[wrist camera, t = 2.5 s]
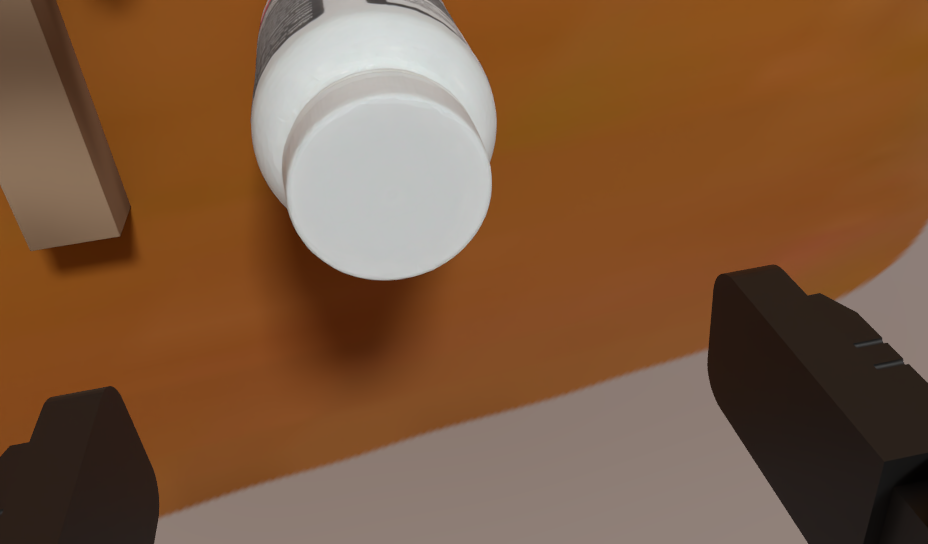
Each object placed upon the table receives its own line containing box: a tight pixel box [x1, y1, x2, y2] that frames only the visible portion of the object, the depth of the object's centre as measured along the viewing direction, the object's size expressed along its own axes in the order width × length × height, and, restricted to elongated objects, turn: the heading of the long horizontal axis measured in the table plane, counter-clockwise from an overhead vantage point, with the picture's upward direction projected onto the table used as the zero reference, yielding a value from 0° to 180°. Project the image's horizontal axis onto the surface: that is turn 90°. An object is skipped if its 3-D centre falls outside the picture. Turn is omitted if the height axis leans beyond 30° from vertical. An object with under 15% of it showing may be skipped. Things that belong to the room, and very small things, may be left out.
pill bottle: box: [251, 0, 497, 280], centre depth 20 cm, size 5×5×10 cm
